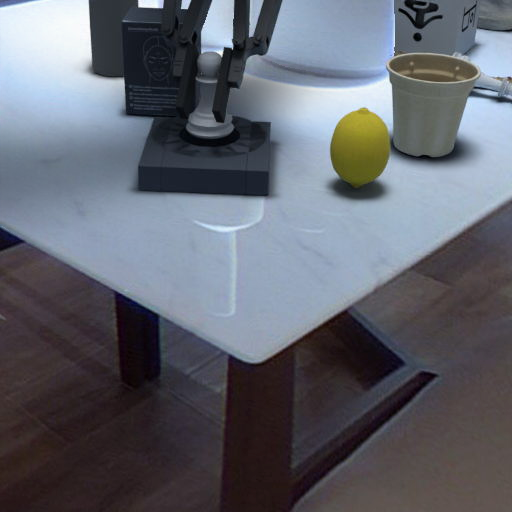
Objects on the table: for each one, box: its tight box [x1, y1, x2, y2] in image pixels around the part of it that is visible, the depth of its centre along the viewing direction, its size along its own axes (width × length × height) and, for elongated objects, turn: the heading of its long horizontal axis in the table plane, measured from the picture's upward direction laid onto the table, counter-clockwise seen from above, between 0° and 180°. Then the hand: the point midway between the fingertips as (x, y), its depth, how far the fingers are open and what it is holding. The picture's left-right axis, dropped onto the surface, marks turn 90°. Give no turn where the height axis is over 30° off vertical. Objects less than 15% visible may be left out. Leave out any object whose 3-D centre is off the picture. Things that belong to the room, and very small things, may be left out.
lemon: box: [329, 107, 391, 189], centre depth 89 cm, size 6×6×8 cm
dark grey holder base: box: [137, 114, 272, 196], centre depth 94 cm, size 12×14×2 cm
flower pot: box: [385, 53, 482, 158], centre depth 98 cm, size 9×9×9 cm
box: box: [122, 6, 202, 117], centre depth 105 cm, size 8×6×11 cm
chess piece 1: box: [186, 50, 234, 139], centre depth 92 cm, size 5×5×8 cm
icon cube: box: [394, 0, 481, 56], centre depth 126 cm, size 10×10×10 cm
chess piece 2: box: [453, 52, 512, 98], centre depth 113 cm, size 4×4×10 cm
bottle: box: [88, 0, 140, 77], centre depth 114 cm, size 6×6×15 cm
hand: (200, 114), depth 90 cm, fingers closed on chess piece 1, 3 cm apart
